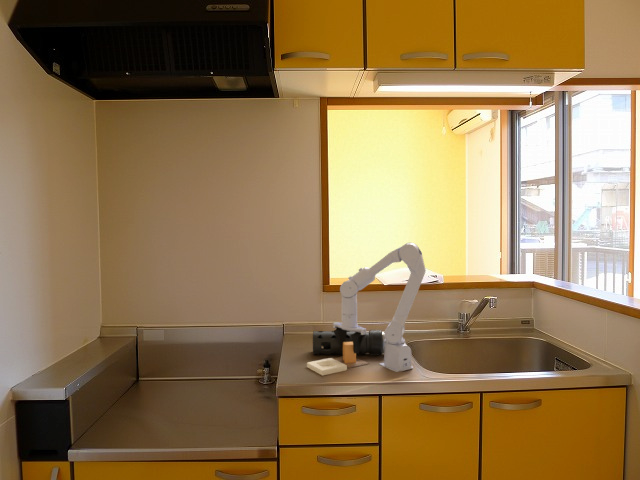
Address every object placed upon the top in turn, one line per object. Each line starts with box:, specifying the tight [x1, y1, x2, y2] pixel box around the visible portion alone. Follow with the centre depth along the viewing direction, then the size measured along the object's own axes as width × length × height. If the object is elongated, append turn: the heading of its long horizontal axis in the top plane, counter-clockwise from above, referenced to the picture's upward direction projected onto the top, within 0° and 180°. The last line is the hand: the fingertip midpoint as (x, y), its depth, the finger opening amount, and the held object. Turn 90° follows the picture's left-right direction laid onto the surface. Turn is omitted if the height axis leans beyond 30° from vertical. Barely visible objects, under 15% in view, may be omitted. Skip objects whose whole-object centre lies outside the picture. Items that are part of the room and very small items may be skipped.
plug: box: [342, 342, 357, 363], centre depth 165 cm, size 4×4×6 cm
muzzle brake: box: [312, 329, 385, 356], centre depth 175 cm, size 10×28×10 cm
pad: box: [331, 355, 370, 369], centre depth 165 cm, size 12×9×1 cm
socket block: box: [306, 357, 348, 376], centre depth 158 cm, size 10×10×2 cm
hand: (349, 350), depth 165 cm, fingers open, 6 cm apart
